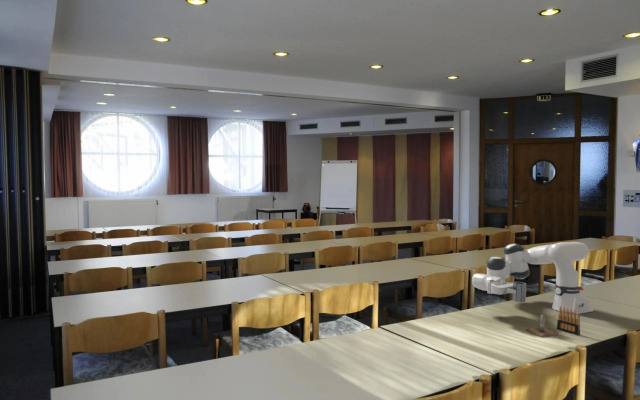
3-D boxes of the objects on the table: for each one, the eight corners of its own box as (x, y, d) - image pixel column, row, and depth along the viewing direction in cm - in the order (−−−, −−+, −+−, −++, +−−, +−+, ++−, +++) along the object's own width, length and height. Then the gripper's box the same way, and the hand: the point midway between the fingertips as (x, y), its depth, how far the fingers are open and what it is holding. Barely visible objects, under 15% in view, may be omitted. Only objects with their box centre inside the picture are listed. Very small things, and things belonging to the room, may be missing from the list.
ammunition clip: (556, 329, 248) (557, 305, 248) (558, 328, 249) (559, 305, 249) (578, 335, 240) (579, 311, 239) (580, 334, 241) (581, 310, 240)
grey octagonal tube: (519, 298, 259) (520, 281, 258) (527, 301, 253) (528, 284, 252) (510, 299, 257) (510, 282, 256) (518, 302, 251) (518, 284, 250)
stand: (542, 328, 248) (543, 311, 248) (557, 335, 239) (558, 317, 238) (526, 330, 245) (527, 312, 245) (540, 337, 236) (541, 318, 235)
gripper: (510, 289, 271) (533, 294, 260) (485, 293, 260) (508, 299, 248) (510, 277, 271) (533, 282, 259) (485, 281, 260) (508, 287, 248)
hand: (520, 291), depth 254 cm, fingers closed on grey octagonal tube, 6 cm apart
